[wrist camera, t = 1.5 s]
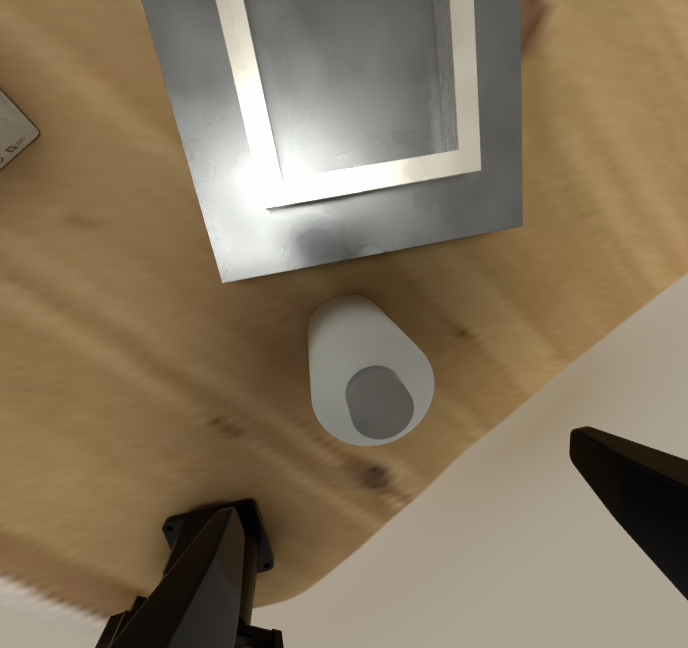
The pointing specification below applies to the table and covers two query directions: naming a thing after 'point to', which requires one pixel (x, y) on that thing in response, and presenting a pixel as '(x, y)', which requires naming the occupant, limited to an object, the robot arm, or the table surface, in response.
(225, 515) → the robot arm
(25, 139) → the supplement box
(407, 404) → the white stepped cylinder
